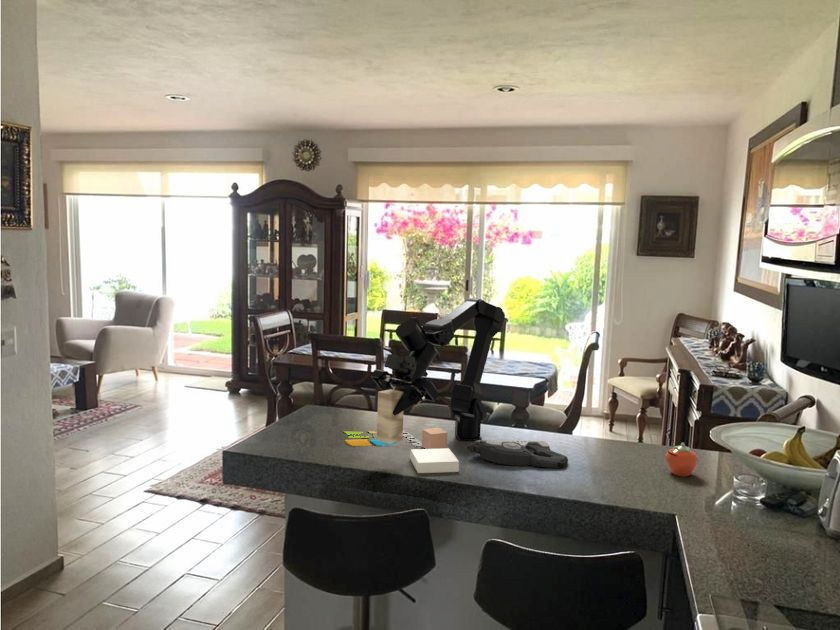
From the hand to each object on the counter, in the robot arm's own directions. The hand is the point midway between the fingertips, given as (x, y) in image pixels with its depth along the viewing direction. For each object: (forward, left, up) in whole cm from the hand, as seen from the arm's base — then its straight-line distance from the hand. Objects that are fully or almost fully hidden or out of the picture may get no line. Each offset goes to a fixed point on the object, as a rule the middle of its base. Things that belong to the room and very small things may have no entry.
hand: (386, 412), depth 147 cm
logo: (-1, -23, -14) cm, 27 cm away
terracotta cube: (-15, -12, -13) cm, 24 cm away
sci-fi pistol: (-34, -1, -14) cm, 37 cm away
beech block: (-1, -1, -7) cm, 7 cm away
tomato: (-72, +13, -14) cm, 74 cm away
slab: (-12, +1, -14) cm, 18 cm away
